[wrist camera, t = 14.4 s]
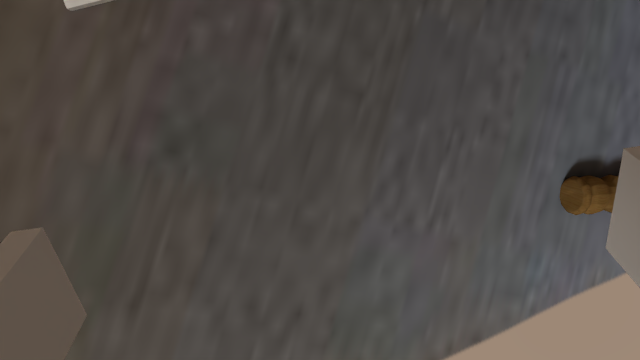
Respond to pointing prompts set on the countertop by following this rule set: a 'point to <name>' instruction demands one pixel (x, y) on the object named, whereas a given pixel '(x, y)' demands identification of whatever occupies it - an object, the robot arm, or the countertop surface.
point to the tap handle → (588, 194)
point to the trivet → (82, 3)
